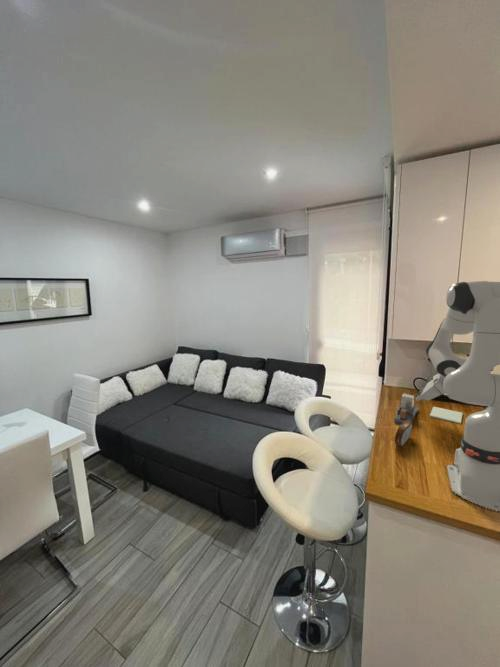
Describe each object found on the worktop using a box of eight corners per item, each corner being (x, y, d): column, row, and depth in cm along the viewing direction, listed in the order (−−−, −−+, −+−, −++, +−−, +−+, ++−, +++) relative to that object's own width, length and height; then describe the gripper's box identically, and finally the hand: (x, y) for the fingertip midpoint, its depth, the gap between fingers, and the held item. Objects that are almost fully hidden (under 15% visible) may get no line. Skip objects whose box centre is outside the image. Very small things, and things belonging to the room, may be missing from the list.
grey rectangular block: (411, 414, 139) (412, 398, 138) (400, 411, 143) (401, 395, 141) (413, 411, 142) (414, 395, 141) (402, 409, 146) (403, 393, 144)
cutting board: (460, 424, 133) (461, 422, 133) (429, 416, 142) (429, 415, 141) (462, 414, 143) (462, 412, 143) (433, 407, 151) (433, 406, 151)
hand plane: (409, 426, 132) (410, 414, 131) (394, 422, 137) (394, 410, 136) (418, 410, 149) (418, 399, 148) (403, 407, 153) (404, 396, 152)
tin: (405, 433, 127) (406, 417, 125) (412, 436, 124) (414, 419, 123) (393, 447, 117) (394, 429, 115) (401, 450, 114) (402, 431, 113)
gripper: (440, 371, 139) (417, 385, 147) (435, 383, 124) (409, 397, 132) (450, 381, 137) (426, 394, 145) (446, 394, 121) (419, 408, 130)
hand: (418, 396), depth 138 cm, fingers open, 8 cm apart
